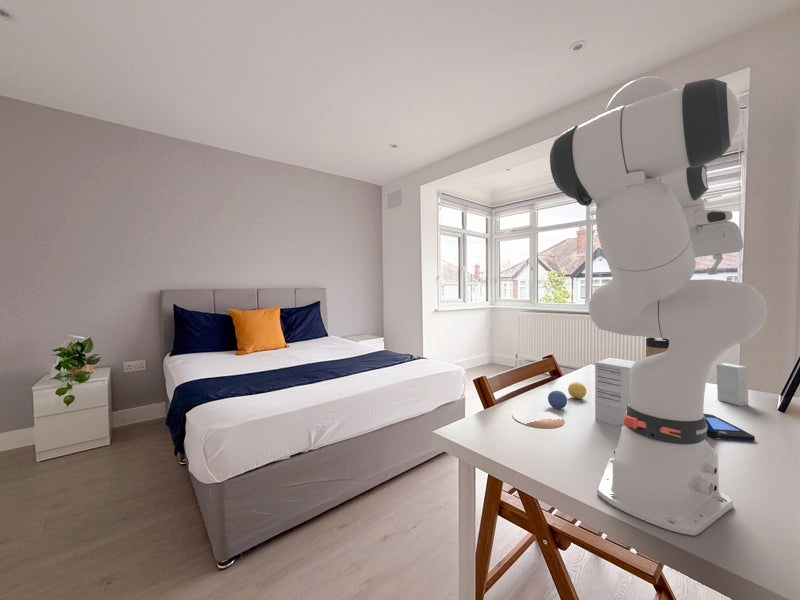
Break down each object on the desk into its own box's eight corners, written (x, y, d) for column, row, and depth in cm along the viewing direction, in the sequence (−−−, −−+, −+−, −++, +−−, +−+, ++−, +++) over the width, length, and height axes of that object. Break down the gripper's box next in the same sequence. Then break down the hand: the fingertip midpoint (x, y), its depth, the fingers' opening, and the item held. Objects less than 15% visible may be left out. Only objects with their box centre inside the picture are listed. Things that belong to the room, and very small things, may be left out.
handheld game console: (758, 443, 79) (759, 405, 79) (693, 439, 82) (694, 402, 82) (711, 418, 95) (711, 386, 94) (658, 415, 97) (658, 384, 97)
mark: (549, 433, 86) (549, 432, 86) (502, 417, 97) (502, 416, 97) (573, 419, 95) (573, 418, 95) (528, 406, 106) (528, 405, 106)
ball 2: (582, 402, 109) (582, 385, 108) (565, 398, 113) (565, 382, 113) (589, 398, 112) (589, 382, 112) (572, 394, 116) (572, 379, 116)
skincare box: (749, 405, 104) (749, 366, 103) (738, 406, 103) (739, 367, 102) (725, 398, 110) (726, 362, 109) (715, 399, 109) (716, 363, 108)
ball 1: (562, 412, 100) (562, 394, 100) (544, 408, 104) (544, 390, 104) (570, 408, 103) (570, 391, 103) (553, 403, 108) (553, 387, 107)
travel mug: (661, 403, 106) (661, 341, 106) (639, 395, 114) (639, 338, 113) (680, 401, 108) (681, 340, 107) (657, 393, 115) (658, 337, 115)
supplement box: (608, 412, 100) (608, 356, 99) (645, 422, 92) (645, 362, 92) (594, 420, 94) (594, 361, 93) (631, 431, 87) (631, 367, 86)
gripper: (630, 230, 85) (636, 283, 86) (741, 210, 73) (747, 272, 74) (630, 231, 91) (636, 281, 91) (735, 212, 78) (741, 270, 79)
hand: (687, 276), depth 82 cm, fingers open, 8 cm apart
